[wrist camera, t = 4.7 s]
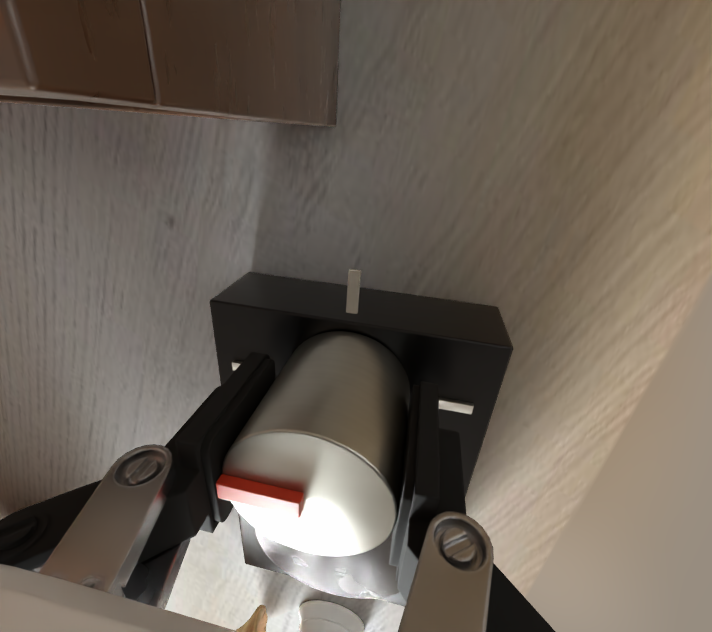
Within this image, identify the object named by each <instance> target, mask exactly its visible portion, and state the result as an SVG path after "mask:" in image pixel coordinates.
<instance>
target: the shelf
mask: <svg viewBox="0 0 712 632" xmlns="http://www.w3.org/2000/svg"><path fill="white" fill-rule="evenodd" d="M340 6H341V0H0V102H3V103H17V104H30V105H44V106H57V107H70V108H84V109H97V110H110V111H124V112H137V113H150V114H164V115H177V116H190V117H204V118H217V119H231V120H244V121H257V122H271V123H284V124H297V125H311V126H324V127H336V114H337V87H338V60H339V33H340Z"/></svg>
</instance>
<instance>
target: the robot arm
mask: <svg viewBox="0 0 712 632" xmlns="http://www.w3.org/2000/svg"><path fill="white" fill-rule="evenodd" d="M275 379H276V375H275V361H274V360H272V359H270V355H268V354H263V353H257V352H251V353H250V354H249V355H248V356H247V357H246V359H245V360H244V361H243V362H242V363H241V364H240V365H239V367H238V368H237V369H236V370H235V371H234V372H233V374H232V375H231V376H230V377H229V378H228V379H227V381H226V382H225V383H224V384H223V385H222V386H219V387H217V388H216V389H215V390H214V391H213V392H212V393H211V394H210V395H209V397H208V398H207V399H206V400H205V401H204V402H203V403H202V405H201V406H200V407H199V408H198V409H197V410H196V411H195V413H194V414H193V415H192V416H191V417H190V418H189V419H188V420H187V422H186V423H185V424H184V425H183V426H182V427H181V428H180V430H179V431H178V432H177V433H176V434H175V435H174V436H173V438H172V439H171V440H170V441H169V442H168V443H167V444H166V446H165V447H164V446H162V445H155V444H153V445H144V446H141V447H138V448H135V449H133V450H131V451H129V452H127V453H125V454H124V455H123V456H121V457H120V458H119V459H117V461H116V462H115V463H114V464H113V465H112V466H111V468H110V469H109V471H108V472H107V474H106V475H105V476H104V478H103V479H102V480H99V481H97V482H94V483H91V484H88V485H86V486H83V487H80V488H78V489H75V490H72V491H69V492H67V493H64V494H61V495H59V496H56V497H53V498H51V499H48V500H45V501H42V502H40V503H37V504H34V505H32V506H29V507H26V508H24V509H21V510H19V511H17V512H14V513H12V514H10V515H8V516H7V517H5V518H4V519H2V520H0V632H238V631H235V630H231V629H228V628H225V627H221V626H218V625H215V624H211V623H208V622H205V621H201V620H198V619H195V618H191V617H188V616H184V615H181V614H178V613H174V612H171V611H168V610H165V607H166V605H167V602H168V599H169V596H170V594H171V591H172V588H173V586H174V583H175V580H176V577H177V575H178V572H179V569H180V567H181V564H182V561H183V558H184V556H185V553H186V550H187V548H188V545H189V542H190V538H192V537H194V536H196V534H197V533H198V531H199V530H202V531H206V532H210V533H213V532H214V530H215V528H216V526H217V525H218V523H219V522H224V521H225V520H226V519H227V517H228V515H229V513H230V512H231V510H232V508H233V506H234V505H233V504H232V503H231V501H228V500H224V499H220V498H218V495H217V489H216V482H217V480H218V479H219V477H220V476H221V474H222V466H223V461H224V458H225V455H226V454H227V452H228V450H229V449H230V447H231V446H232V444H233V443H234V441H235V440H236V438H237V437H238V435H239V434H240V432H241V431H242V429H243V428H244V426H245V425H246V423H247V422H248V420H249V419H250V417H251V416H252V414H253V413H254V411H255V410H256V408H257V407H258V405H259V404H260V402H261V401H262V399H263V398H264V396H265V395H266V393H267V392H268V390H269V389H270V387H271V386H272V384H273V383H274V381H275ZM493 559H494V556H493V546H492V544H491V541H490V538H489V536H488V535H487V533H486V532H485V530H484V529H483V527H482V526H480V525H479V524H478V523H477V522H476V521H475V520H474V519H472V518H470V517H469V516H467V515H466V506H465V494H464V481H463V469H462V457H461V445H460V435H459V432H457V431H452V430H447V429H442V428H439V386H438V384H434V383H428V382H423V381H421V382H420V386H419V385H413V389H412V395H411V400H410V406H409V411H408V417H407V427H406V437H405V447H404V457H403V467H402V477H401V487H400V497H399V507H398V517H397V522H396V525H395V527H394V529H393V533H392V542H391V551H390V561H389V565H392V566H396V567H397V570H396V581H398V587H397V589H398V590H399V592H400V593H401V595H402V596H403V598H404V599H405V601H406V605H405V609H404V612H403V616H402V619H401V623H400V626H399V630H398V632H555V631H554V630H553V629H552V627H551V626H550V625H549V624H548V623H547V622H546V621H545V620H544V619H543V617H542V616H541V615H540V614H539V613H538V612H537V611H536V610H535V609H534V608H533V606H532V605H531V604H530V603H529V602H528V601H527V600H526V599H525V598H524V596H523V595H522V594H521V593H520V592H519V591H518V590H517V589H516V588H515V586H514V585H513V584H512V583H511V582H510V581H509V580H508V579H507V578H506V576H505V575H504V574H503V573H502V572H501V571H500V570H499V569H498V568H497V567H496V565H495V564H494V563H493Z"/></svg>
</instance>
